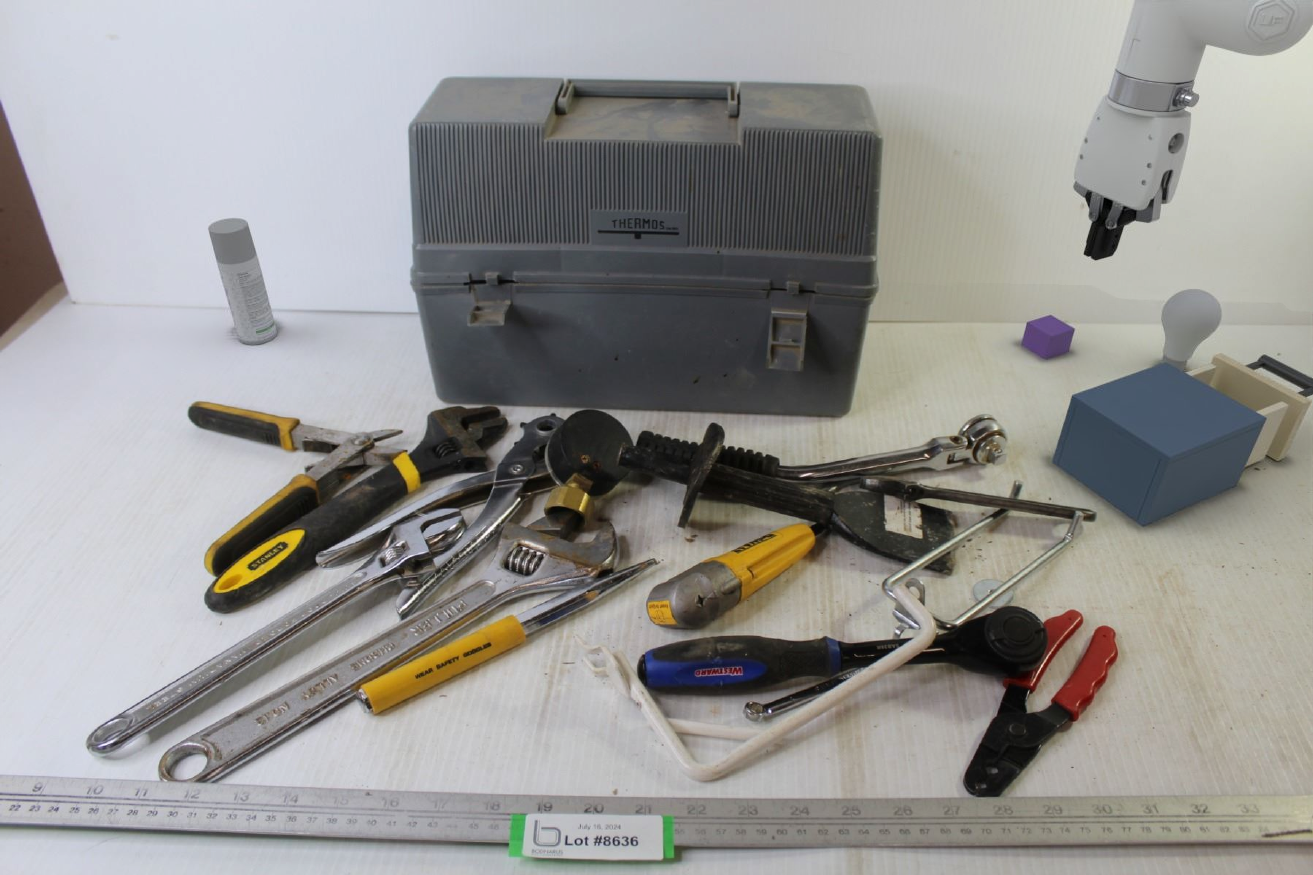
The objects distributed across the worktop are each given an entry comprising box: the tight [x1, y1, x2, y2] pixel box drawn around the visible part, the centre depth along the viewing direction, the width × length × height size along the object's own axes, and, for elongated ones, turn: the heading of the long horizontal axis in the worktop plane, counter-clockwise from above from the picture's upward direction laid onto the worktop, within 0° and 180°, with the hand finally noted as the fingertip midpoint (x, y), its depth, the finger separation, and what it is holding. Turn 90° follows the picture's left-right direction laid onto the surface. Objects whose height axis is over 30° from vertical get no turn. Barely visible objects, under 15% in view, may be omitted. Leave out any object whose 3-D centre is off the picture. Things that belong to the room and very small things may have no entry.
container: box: [207, 217, 278, 346], centre depth 119 cm, size 5×5×15 cm
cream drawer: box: [1185, 353, 1313, 468], centre depth 102 cm, size 18×10×7 cm, turn 118°
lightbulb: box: [1160, 288, 1223, 372], centre depth 113 cm, size 6×6×11 cm
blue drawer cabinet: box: [1051, 362, 1267, 528], centre depth 97 cm, size 14×12×9 cm
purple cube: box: [1020, 314, 1076, 361], centre depth 119 cm, size 4×4×4 cm
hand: (1098, 255), depth 110 cm, fingers closed
